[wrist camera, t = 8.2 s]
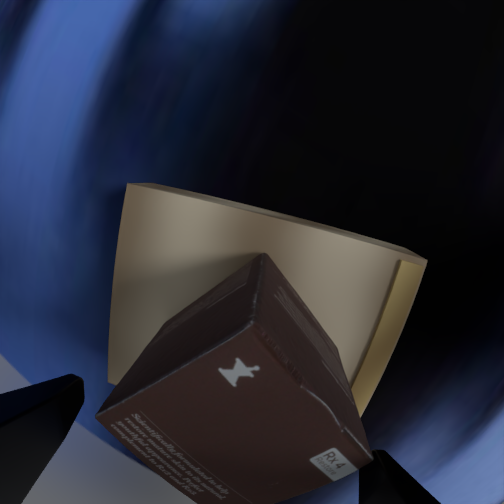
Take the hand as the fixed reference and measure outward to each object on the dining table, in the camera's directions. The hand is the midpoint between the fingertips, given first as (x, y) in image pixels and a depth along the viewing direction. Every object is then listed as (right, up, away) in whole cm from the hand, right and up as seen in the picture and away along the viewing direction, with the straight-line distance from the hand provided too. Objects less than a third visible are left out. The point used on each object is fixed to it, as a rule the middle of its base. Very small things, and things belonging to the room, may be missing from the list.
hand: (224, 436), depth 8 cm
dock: (+1, +2, +9) cm, 10 cm away
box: (+1, +1, +7) cm, 7 cm away
